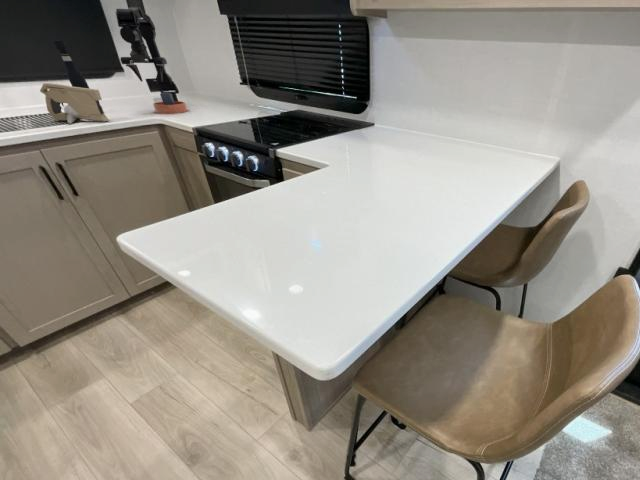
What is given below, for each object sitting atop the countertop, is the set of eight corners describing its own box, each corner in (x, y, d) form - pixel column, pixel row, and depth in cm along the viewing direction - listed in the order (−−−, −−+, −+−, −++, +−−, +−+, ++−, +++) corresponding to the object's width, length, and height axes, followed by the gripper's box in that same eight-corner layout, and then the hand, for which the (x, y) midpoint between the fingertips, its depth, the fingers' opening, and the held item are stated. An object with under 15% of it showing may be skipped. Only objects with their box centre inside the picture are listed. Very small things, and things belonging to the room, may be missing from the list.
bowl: (160, 109, 185) (157, 101, 182) (190, 109, 188) (187, 100, 186) (152, 114, 173) (149, 105, 171) (184, 113, 177) (181, 104, 174)
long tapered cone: (80, 113, 149) (77, 103, 159) (62, 116, 146) (61, 105, 157) (88, 126, 153) (85, 115, 163) (72, 129, 150) (70, 118, 161)
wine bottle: (83, 113, 171) (45, 40, 152) (96, 111, 175) (61, 40, 157) (91, 114, 169) (54, 40, 150) (104, 112, 173) (69, 41, 155)
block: (168, 109, 181) (162, 93, 177) (177, 109, 182) (171, 92, 178) (166, 111, 178) (159, 93, 173) (175, 110, 179) (169, 93, 174)
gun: (51, 120, 153) (33, 82, 144) (57, 119, 155) (39, 81, 146) (107, 126, 155) (93, 89, 146) (112, 125, 158) (98, 89, 149)
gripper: (108, 42, 151) (125, 83, 161) (152, 43, 154) (166, 82, 164) (118, 42, 159) (133, 80, 169) (160, 43, 163) (173, 80, 173)
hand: (151, 81), depth 168 cm, fingers open, 9 cm apart
